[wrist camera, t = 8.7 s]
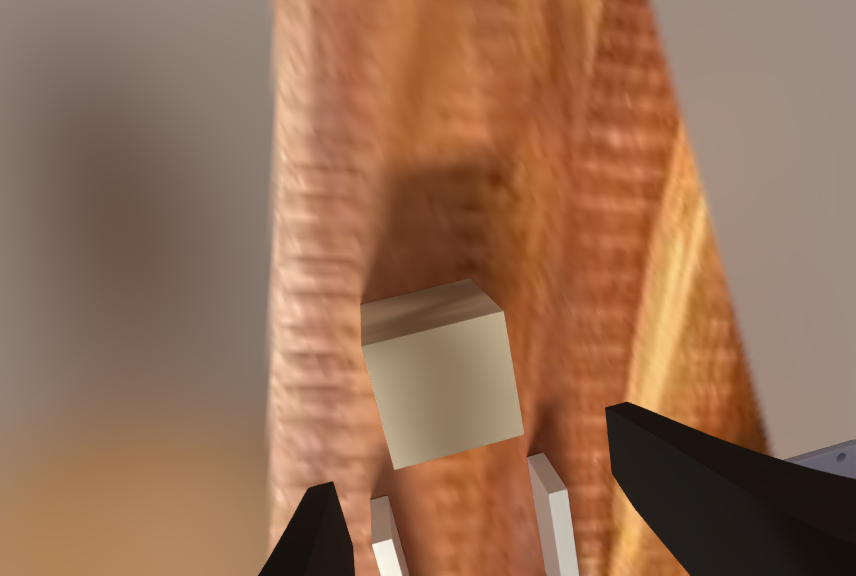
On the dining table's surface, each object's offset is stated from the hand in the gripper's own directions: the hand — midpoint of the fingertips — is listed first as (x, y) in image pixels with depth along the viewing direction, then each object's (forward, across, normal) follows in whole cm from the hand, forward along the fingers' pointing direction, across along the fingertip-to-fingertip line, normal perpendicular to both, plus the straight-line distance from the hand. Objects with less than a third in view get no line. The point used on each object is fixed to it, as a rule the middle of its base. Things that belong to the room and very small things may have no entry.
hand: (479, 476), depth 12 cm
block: (+8, 0, -1) cm, 8 cm away
